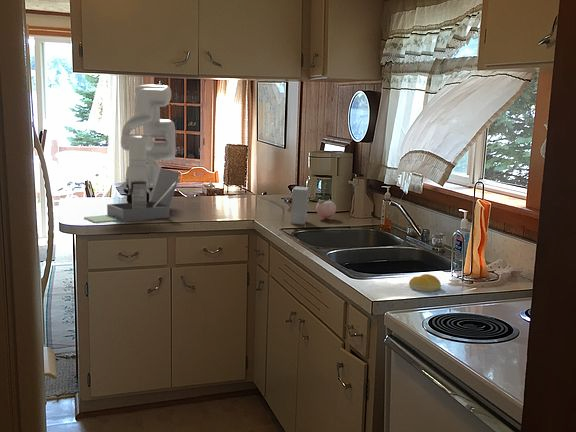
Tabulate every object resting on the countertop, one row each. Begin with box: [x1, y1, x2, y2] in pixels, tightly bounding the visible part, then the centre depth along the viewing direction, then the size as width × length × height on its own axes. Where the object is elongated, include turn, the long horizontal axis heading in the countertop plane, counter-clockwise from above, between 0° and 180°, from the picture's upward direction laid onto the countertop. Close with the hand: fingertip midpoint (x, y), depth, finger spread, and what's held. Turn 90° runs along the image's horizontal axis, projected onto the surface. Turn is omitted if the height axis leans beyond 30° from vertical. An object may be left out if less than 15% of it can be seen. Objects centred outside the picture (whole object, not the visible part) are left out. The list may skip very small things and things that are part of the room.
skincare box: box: [290, 185, 310, 225], centre depth 282 cm, size 8×7×16 cm
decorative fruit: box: [315, 197, 337, 220], centre depth 292 cm, size 9×8×10 cm
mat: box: [83, 214, 119, 224], centre depth 277 cm, size 13×10×1 cm
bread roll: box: [408, 273, 442, 293], centre depth 186 cm, size 8×9×4 cm
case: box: [106, 168, 181, 223], centre depth 287 cm, size 20×27×20 cm
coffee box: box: [130, 182, 147, 209], centre depth 287 cm, size 9×6×16 cm
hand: (138, 202), depth 287 cm, fingers closed on coffee box, 7 cm apart
